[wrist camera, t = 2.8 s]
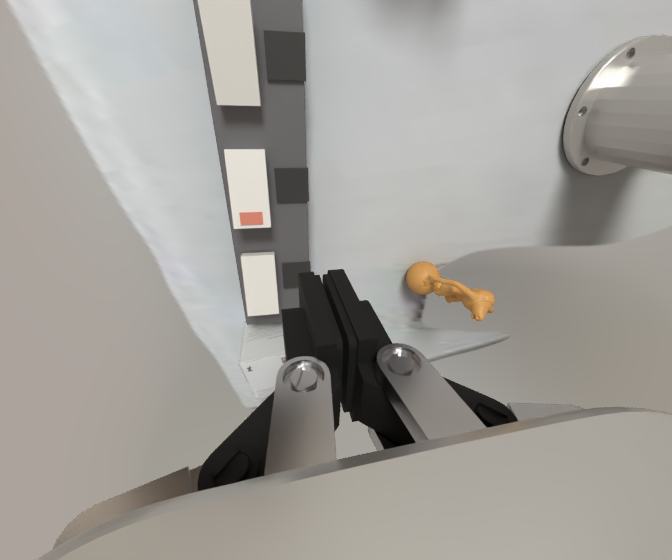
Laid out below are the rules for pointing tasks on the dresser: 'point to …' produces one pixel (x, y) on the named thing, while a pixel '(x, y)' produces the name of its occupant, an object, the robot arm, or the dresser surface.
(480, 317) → the figurine
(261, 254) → the block
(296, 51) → the power strip
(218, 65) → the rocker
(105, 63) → the dresser surface
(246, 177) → the block
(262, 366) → the skincare box
